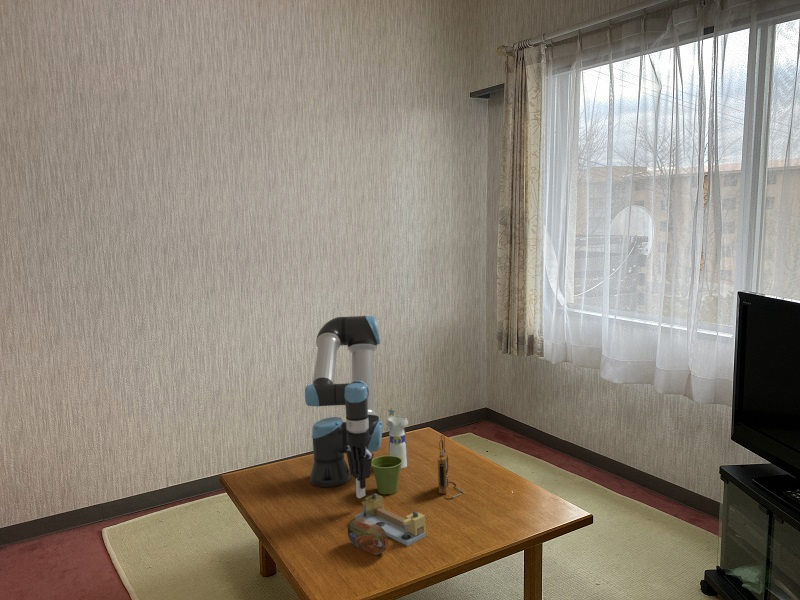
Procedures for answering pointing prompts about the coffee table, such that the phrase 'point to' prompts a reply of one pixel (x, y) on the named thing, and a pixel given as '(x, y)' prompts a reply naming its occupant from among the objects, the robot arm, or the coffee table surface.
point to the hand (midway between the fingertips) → (361, 496)
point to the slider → (372, 504)
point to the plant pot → (387, 473)
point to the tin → (367, 536)
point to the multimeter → (444, 472)
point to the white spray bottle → (397, 437)
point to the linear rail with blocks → (398, 525)
